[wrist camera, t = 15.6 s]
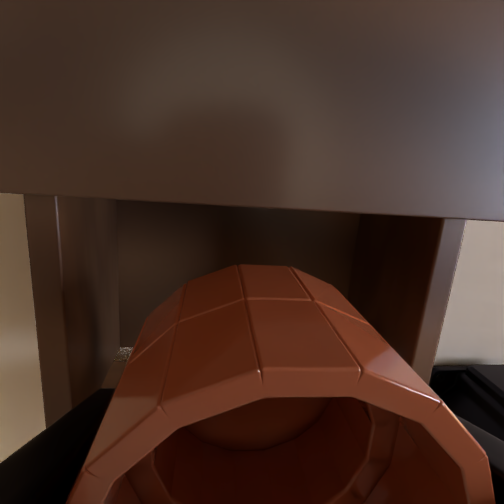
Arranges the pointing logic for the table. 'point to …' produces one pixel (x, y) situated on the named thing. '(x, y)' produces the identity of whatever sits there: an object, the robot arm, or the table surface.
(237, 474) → the bowl
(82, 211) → the drawer
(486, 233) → the table surface
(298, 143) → the cabinet
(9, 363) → the table surface
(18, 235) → the table surface
